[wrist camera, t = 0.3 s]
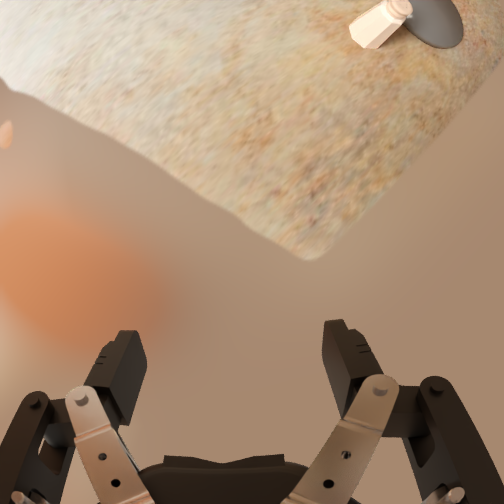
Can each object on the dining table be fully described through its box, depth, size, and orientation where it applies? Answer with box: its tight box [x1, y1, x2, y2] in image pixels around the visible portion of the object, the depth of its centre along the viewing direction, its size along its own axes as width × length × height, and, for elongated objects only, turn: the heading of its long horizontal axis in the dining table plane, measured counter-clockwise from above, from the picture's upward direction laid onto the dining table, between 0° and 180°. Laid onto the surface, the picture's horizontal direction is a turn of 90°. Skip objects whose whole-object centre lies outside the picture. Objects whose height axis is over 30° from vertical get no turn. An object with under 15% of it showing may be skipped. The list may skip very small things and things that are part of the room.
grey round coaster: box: [403, 0, 463, 49], centre depth 30 cm, size 14×14×2 cm
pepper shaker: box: [349, 0, 413, 49], centre depth 27 cm, size 5×5×11 cm
